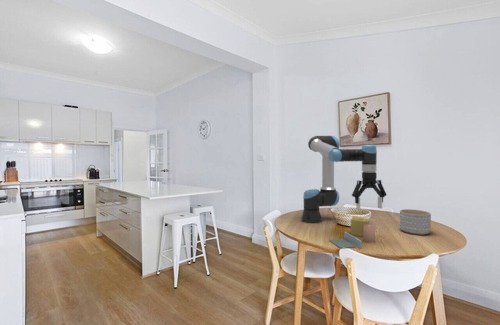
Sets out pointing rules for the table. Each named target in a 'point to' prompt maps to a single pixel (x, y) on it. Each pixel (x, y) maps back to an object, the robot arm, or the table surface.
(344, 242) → the mat
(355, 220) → the cheese
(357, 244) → the divider wall
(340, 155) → the robot arm
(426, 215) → the planter
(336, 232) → the table surface
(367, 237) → the pink rounded cylinder
